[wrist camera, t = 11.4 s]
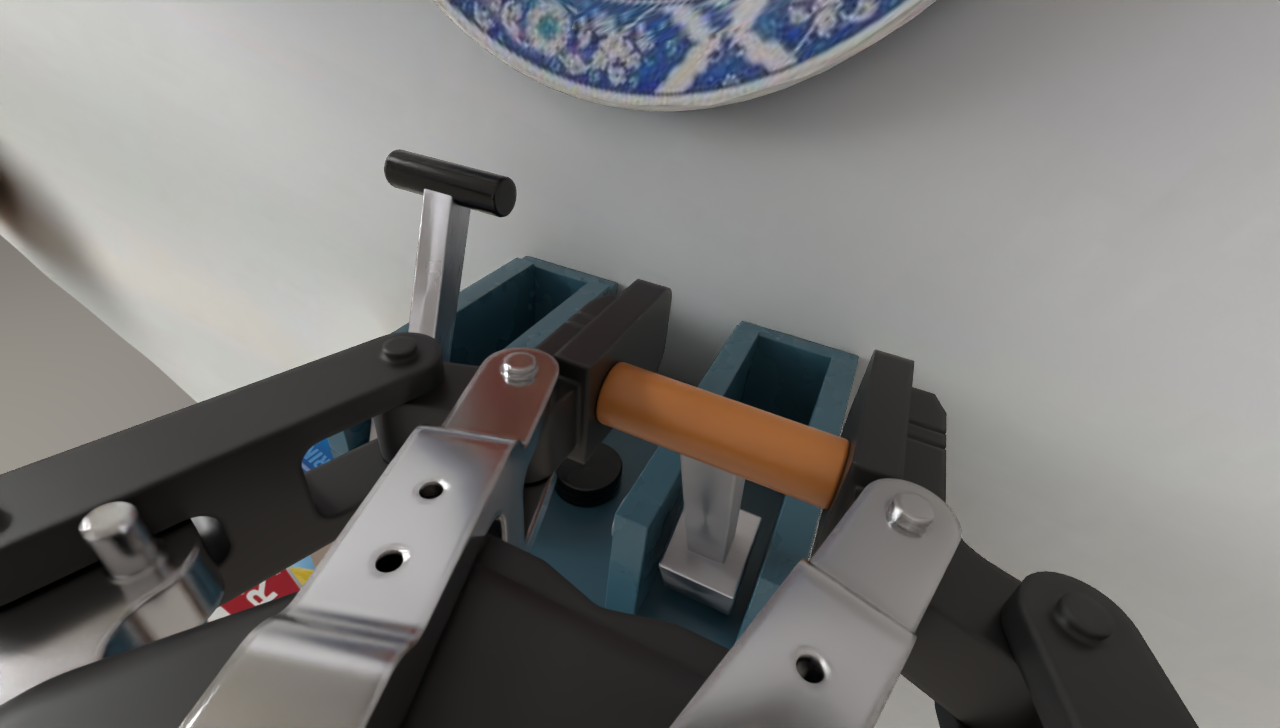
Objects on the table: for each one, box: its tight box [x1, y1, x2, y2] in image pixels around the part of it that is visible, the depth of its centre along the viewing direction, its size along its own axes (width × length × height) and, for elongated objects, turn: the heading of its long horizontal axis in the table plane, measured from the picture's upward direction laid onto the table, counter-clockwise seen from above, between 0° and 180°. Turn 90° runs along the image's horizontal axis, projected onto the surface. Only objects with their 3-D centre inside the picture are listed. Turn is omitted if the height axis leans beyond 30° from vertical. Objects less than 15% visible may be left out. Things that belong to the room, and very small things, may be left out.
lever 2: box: [596, 362, 850, 615], centre depth 14 cm, size 10×4×2 cm, turn 173°
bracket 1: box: [328, 256, 617, 459], centre depth 24 cm, size 4×6×12 cm
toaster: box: [310, 428, 785, 649], centre depth 25 cm, size 11×16×14 cm
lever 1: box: [369, 150, 516, 442], centre depth 19 cm, size 10×4×2 cm, turn 174°
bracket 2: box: [605, 321, 859, 643], centre depth 20 cm, size 4×6×12 cm
